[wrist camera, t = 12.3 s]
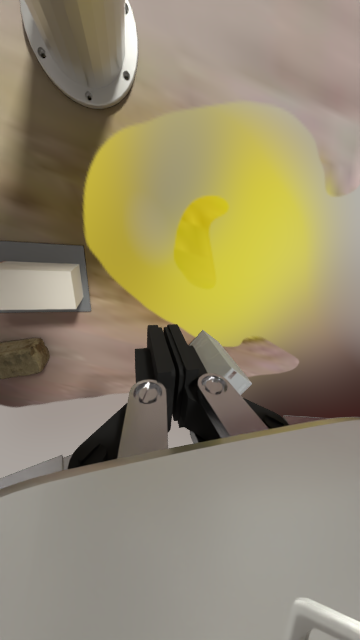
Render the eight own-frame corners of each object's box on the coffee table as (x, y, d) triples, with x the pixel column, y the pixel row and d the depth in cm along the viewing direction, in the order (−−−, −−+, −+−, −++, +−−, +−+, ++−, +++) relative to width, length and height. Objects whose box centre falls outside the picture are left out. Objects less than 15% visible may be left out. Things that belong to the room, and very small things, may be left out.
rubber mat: (-67, 236, 29) (-69, 236, 28) (83, 245, 34) (83, 246, 33) (-35, 312, 34) (-37, 313, 33) (91, 310, 39) (90, 311, 38)
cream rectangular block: (-21, 268, 26) (70, 271, 29) (4, 261, 32) (79, 264, 34) (-6, 310, 29) (76, 309, 32) (14, 296, 34) (83, 296, 37)
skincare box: (197, 363, 51) (223, 415, 38) (178, 351, 48) (198, 403, 34) (220, 340, 50) (256, 386, 36) (201, 326, 46) (233, 370, 33)
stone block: (-25, 344, 37) (-45, 361, 32) (43, 334, 39) (33, 348, 34) (-9, 368, 39) (-26, 387, 35) (53, 357, 41) (45, 373, 37)
